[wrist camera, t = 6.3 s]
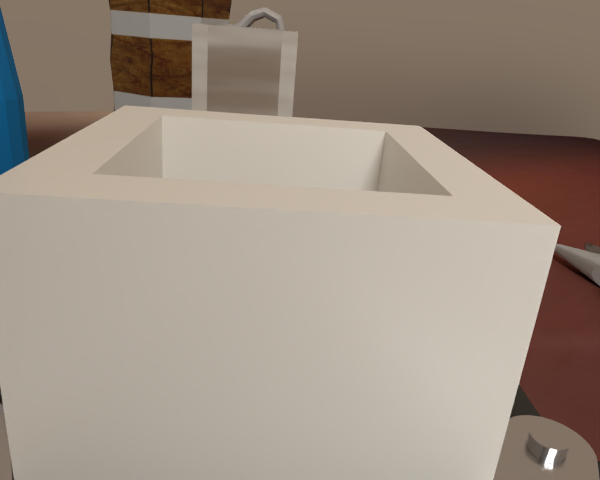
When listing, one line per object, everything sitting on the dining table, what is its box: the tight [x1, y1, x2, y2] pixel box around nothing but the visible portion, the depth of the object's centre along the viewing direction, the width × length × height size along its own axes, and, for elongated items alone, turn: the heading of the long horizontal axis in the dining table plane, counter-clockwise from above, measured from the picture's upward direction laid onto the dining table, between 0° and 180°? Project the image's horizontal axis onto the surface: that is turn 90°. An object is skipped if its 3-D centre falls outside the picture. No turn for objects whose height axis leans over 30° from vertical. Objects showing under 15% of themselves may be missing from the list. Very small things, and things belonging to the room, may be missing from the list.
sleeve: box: [0, 105, 561, 480], centre depth 10 cm, size 5×5×11 cm
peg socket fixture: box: [192, 24, 298, 117], centre depth 27 cm, size 20×11×12 cm, turn 3°
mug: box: [109, 0, 285, 111], centre depth 60 cm, size 20×14×15 cm
